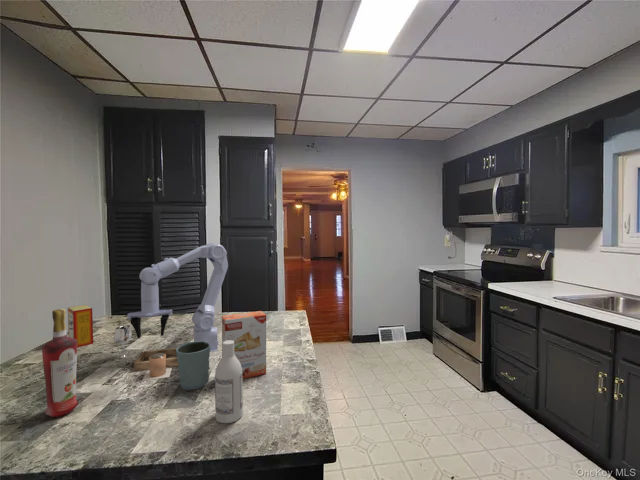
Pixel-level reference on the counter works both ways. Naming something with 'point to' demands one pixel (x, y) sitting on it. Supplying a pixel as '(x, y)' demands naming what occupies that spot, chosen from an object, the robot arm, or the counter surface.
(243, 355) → the cracker box
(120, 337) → the wineglass
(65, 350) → the liquor
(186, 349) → the green cup
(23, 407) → the counter surface
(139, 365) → the brown wooden shallow tray
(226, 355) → the bath foam
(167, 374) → the tile
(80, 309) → the baking soda box
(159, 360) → the pot
